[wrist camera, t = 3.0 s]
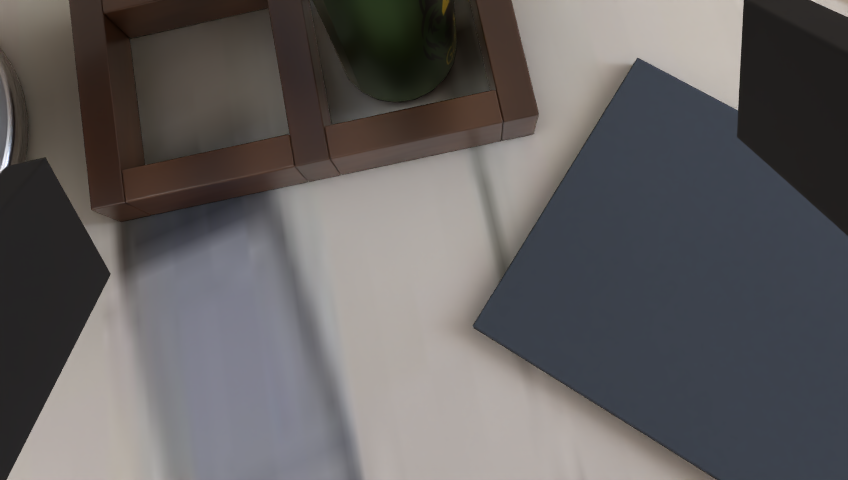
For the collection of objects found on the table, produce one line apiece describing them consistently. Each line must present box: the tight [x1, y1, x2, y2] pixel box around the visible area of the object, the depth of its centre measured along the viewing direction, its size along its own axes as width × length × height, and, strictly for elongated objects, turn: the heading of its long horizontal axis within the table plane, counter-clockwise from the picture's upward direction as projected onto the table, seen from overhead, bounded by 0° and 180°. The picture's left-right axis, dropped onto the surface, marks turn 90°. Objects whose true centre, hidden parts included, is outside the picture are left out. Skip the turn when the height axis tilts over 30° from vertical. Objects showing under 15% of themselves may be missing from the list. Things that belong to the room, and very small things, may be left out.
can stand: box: [69, 0, 539, 222], centre depth 31 cm, size 19×10×2 cm, turn 101°
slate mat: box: [473, 58, 848, 480], centre depth 29 cm, size 20×14×1 cm
